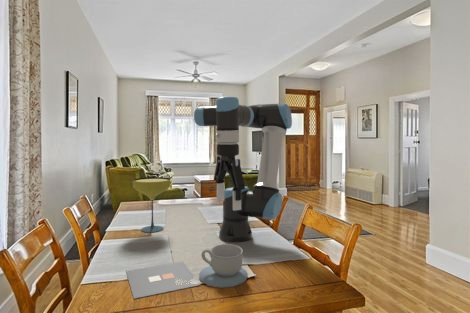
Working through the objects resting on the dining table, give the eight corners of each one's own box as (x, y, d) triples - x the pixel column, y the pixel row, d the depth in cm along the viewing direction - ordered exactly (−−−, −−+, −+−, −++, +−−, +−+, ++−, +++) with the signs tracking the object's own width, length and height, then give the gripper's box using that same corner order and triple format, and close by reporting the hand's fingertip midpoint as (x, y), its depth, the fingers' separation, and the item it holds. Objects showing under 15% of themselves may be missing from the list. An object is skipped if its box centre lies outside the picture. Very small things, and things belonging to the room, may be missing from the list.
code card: (126, 271, 107) (126, 270, 107) (182, 261, 115) (182, 261, 115) (133, 299, 89) (133, 298, 89) (200, 285, 97) (200, 284, 97)
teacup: (246, 268, 108) (246, 246, 107) (236, 282, 97) (236, 257, 97) (209, 263, 112) (209, 241, 112) (196, 275, 102) (196, 251, 102)
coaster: (192, 270, 107) (192, 268, 107) (234, 263, 114) (234, 261, 114) (209, 292, 93) (209, 289, 93) (255, 281, 100) (255, 279, 100)
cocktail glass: (166, 235, 146) (165, 182, 144) (127, 234, 146) (127, 182, 144) (174, 224, 164) (174, 177, 162) (140, 224, 164) (139, 176, 162)
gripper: (204, 142, 114) (205, 198, 116) (233, 145, 92) (234, 215, 94) (223, 141, 118) (223, 196, 120) (255, 144, 95) (255, 212, 97)
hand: (228, 205), depth 107 cm, fingers open, 13 cm apart
